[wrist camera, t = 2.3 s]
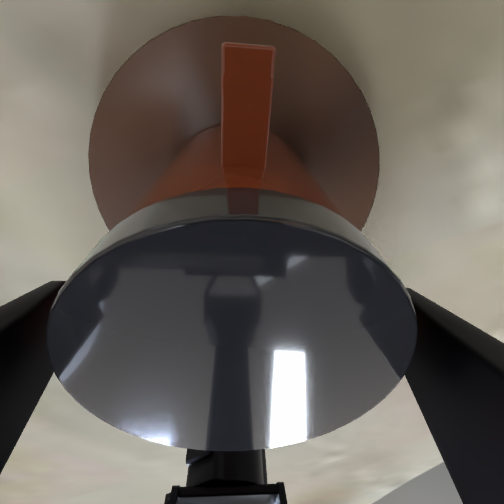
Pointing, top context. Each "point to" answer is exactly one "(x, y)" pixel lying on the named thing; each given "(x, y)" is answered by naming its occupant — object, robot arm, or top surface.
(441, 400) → the robot arm
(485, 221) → the top surface
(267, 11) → the top surface
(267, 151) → the orange mug
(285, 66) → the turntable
